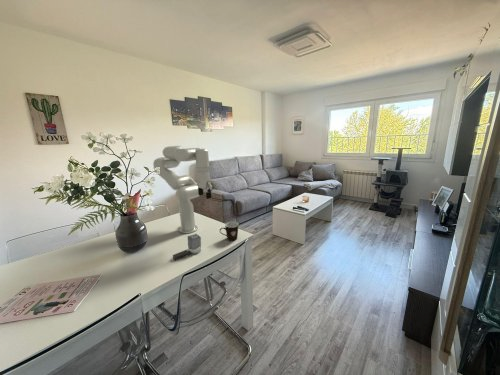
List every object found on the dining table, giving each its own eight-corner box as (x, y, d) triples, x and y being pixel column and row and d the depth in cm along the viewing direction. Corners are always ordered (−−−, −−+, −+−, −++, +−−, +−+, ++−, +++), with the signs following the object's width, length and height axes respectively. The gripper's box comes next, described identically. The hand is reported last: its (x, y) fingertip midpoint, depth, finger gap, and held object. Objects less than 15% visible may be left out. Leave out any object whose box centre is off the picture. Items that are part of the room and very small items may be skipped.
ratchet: (171, 256, 114) (170, 245, 112) (197, 246, 124) (196, 236, 122) (176, 262, 109) (175, 250, 107) (203, 251, 119) (202, 240, 117)
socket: (187, 245, 119) (187, 236, 118) (196, 243, 122) (196, 233, 121) (192, 249, 115) (191, 239, 114) (200, 246, 118) (200, 237, 117)
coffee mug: (239, 235, 137) (239, 221, 134) (237, 242, 129) (237, 227, 126) (222, 235, 138) (222, 221, 136) (219, 241, 130) (218, 227, 127)
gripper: (190, 168, 127) (192, 195, 132) (204, 172, 115) (206, 201, 119) (201, 167, 132) (203, 192, 136) (216, 170, 120) (217, 198, 124)
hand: (204, 196), depth 128 cm, fingers open, 9 cm apart
